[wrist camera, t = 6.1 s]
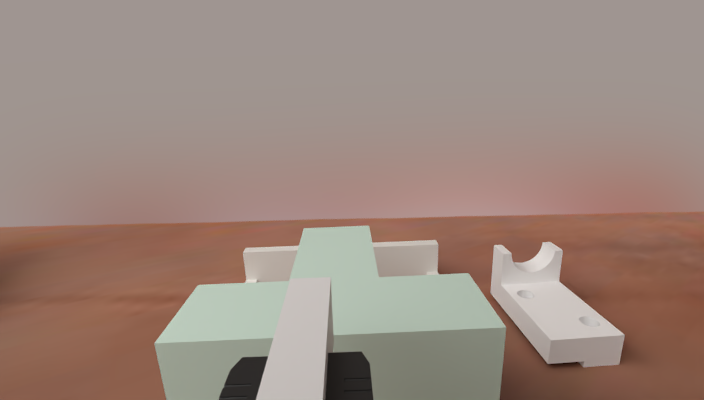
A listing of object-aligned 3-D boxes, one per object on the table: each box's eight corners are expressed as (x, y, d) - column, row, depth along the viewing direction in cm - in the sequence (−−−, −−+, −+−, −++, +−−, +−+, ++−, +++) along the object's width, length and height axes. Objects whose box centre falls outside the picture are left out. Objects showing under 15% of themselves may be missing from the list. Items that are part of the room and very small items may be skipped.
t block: (488, 523, 23) (506, 327, 19) (196, 538, 23) (154, 343, 19) (430, 351, 38) (433, 223, 35) (255, 359, 38) (238, 231, 34)
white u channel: (472, 355, 38) (475, 302, 36) (212, 367, 37) (203, 315, 36) (434, 279, 53) (435, 240, 51) (250, 287, 53) (245, 248, 51)
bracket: (489, 299, 48) (494, 245, 46) (543, 296, 48) (550, 241, 46) (546, 372, 36) (555, 301, 33) (618, 366, 36) (632, 296, 34)
